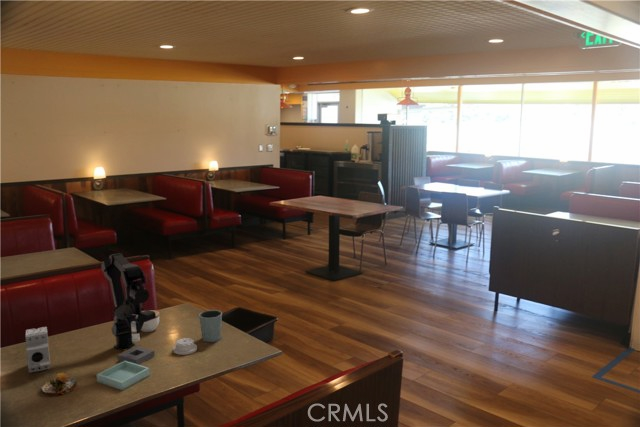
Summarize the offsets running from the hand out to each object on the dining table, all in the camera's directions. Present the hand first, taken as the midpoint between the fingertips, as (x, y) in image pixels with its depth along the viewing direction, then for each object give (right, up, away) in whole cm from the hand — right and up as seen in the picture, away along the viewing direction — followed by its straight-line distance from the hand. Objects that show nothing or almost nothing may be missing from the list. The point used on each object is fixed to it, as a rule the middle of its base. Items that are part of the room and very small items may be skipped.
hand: (135, 332), depth 222 cm
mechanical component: (+18, -10, +10) cm, 23 cm away
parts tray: (+1, -14, -15) cm, 21 cm away
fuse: (0, -4, +1) cm, 4 cm away
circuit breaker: (-35, -13, -8) cm, 39 cm away
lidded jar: (-5, -6, +33) cm, 34 cm away
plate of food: (-20, -16, -23) cm, 35 cm away
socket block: (0, -11, +2) cm, 12 cm away
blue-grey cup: (+27, -8, +23) cm, 36 cm away
